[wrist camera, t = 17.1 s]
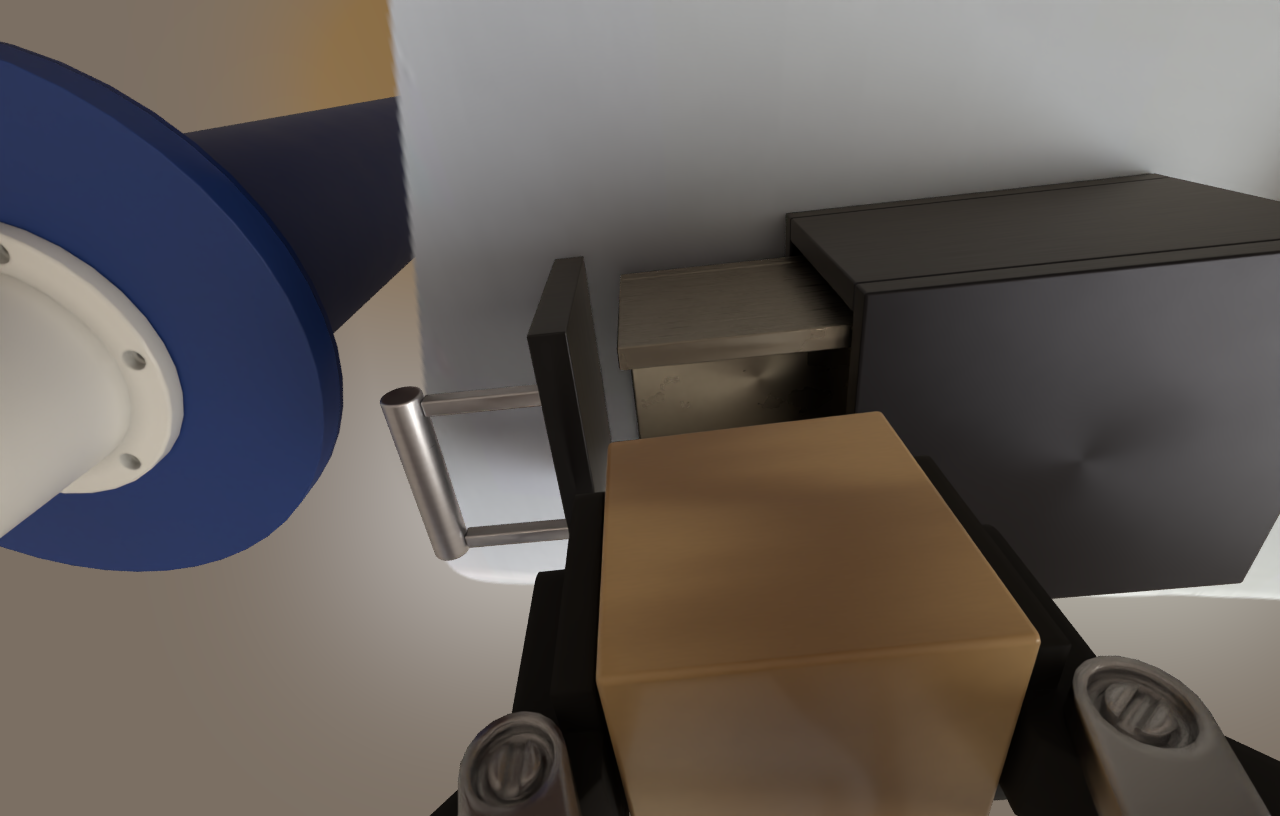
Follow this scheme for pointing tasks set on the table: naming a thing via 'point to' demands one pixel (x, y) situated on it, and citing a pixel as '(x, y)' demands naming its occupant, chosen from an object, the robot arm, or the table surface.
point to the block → (801, 628)
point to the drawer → (644, 376)
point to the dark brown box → (1077, 366)
